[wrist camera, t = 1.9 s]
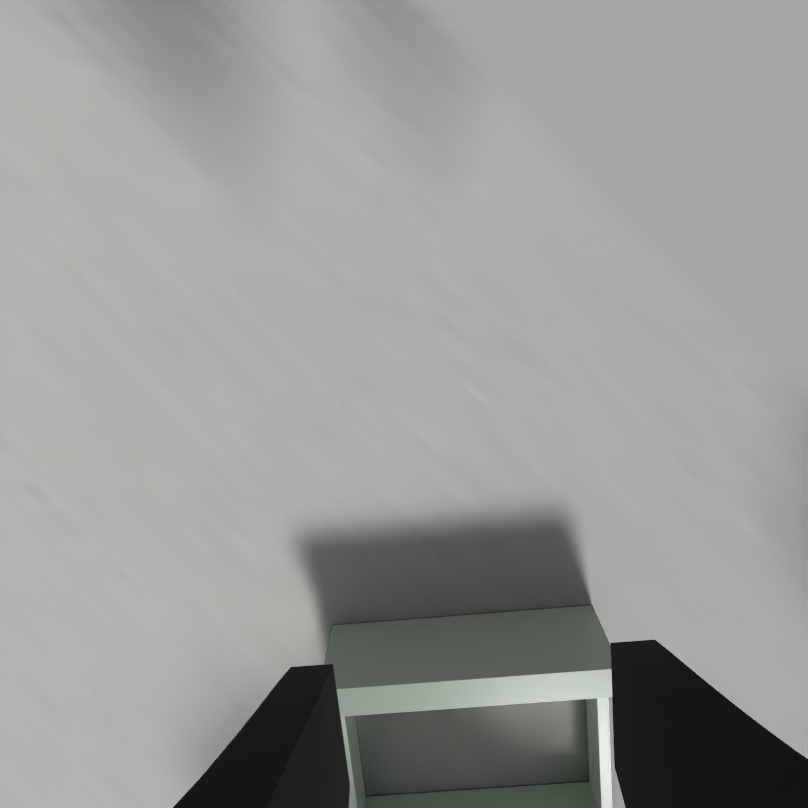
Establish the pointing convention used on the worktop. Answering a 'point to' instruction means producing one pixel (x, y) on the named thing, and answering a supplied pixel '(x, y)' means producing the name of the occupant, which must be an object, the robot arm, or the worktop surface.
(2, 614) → the worktop surface
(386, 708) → the tray
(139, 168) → the worktop surface
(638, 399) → the worktop surface
